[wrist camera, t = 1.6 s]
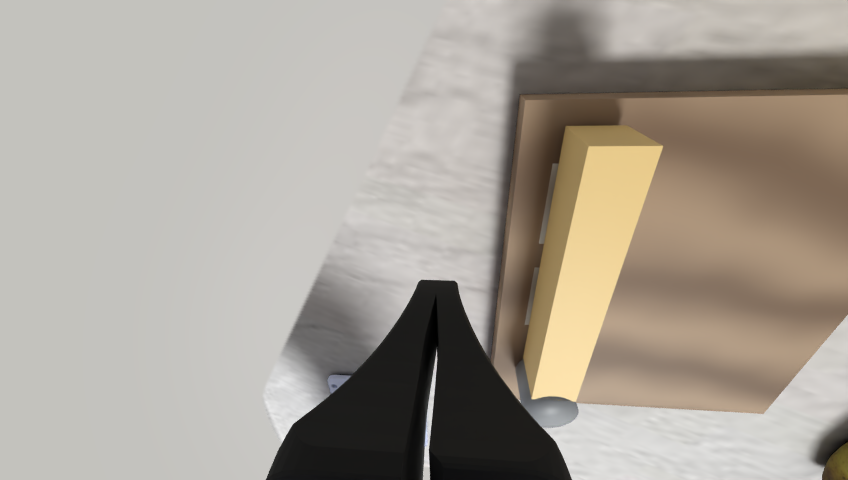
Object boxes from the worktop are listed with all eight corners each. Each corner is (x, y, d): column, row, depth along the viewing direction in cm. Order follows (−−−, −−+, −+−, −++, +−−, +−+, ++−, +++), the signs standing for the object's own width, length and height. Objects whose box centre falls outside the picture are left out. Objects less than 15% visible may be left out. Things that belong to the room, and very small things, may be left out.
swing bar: (559, 386, 24) (572, 429, 21) (513, 383, 24) (519, 425, 21) (635, 125, 14) (673, 145, 12) (557, 125, 15) (578, 146, 12)
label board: (747, 394, 25) (764, 415, 24) (488, 380, 27) (490, 399, 25) (984, 86, 14) (1041, 91, 13) (519, 94, 16) (525, 100, 14)
